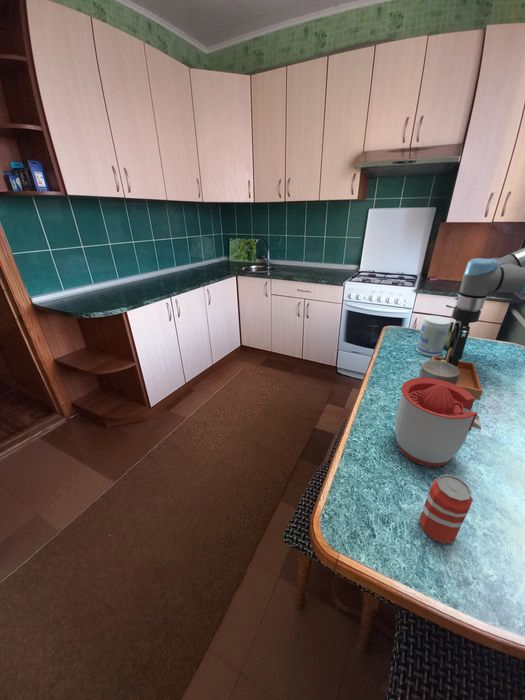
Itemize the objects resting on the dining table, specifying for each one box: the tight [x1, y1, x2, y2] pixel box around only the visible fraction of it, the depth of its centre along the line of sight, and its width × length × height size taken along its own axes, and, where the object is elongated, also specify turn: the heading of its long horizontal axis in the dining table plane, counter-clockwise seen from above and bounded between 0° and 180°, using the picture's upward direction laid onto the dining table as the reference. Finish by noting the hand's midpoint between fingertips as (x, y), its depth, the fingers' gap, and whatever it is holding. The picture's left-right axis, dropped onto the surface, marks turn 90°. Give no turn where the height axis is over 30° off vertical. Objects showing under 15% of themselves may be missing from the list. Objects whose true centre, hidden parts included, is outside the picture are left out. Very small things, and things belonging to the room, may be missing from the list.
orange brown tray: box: [431, 356, 483, 400], centre depth 102 cm, size 14×20×3 cm
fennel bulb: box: [443, 321, 455, 350], centre depth 122 cm, size 6×5×12 cm
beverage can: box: [418, 474, 473, 544], centre depth 54 cm, size 6×6×12 cm
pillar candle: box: [418, 359, 460, 385], centre depth 87 cm, size 10×10×15 cm
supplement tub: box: [415, 315, 452, 357], centre depth 118 cm, size 10×10×15 cm
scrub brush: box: [441, 348, 458, 368], centre depth 104 cm, size 5×8×9 cm, turn 153°
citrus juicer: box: [394, 377, 483, 468], centre depth 69 cm, size 16×17×20 cm
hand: (448, 367), depth 105 cm, fingers closed on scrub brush, 8 cm apart
